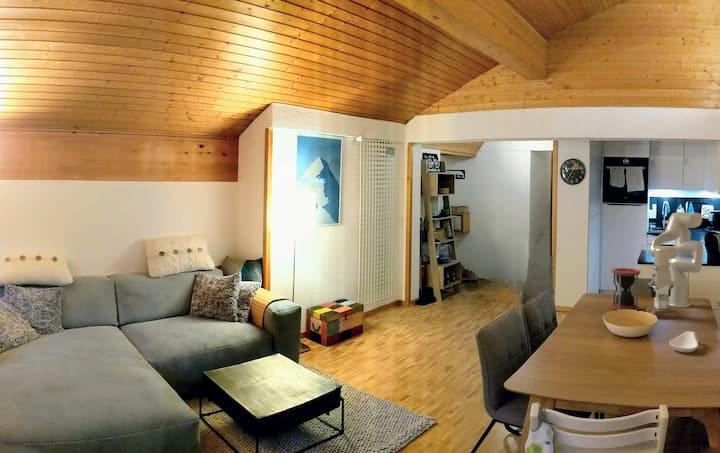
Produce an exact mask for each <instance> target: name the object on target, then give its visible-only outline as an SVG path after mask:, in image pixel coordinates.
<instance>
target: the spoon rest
mask: <svg viewBox="0 0 720 453" xmlns="http://www.w3.org/2000/svg"><path fill="white" fill-rule="evenodd" d="M699 339H700V338H699V336H698V333H697V332H696V331H690V330H687V331H685V332H683V333H682V334H681V333H680V335H678V336H676V337H674V338H672V339H671V340H670V341H669V345H670V347H671V348H672V349H673V350H675V351H677V352H679V353H686V354H687V353H692V352H694V351H696V350H697V349H698V347H699V344H700V340H699Z"/></svg>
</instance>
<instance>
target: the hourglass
mask: <svg viewBox="0 0 720 453" xmlns="http://www.w3.org/2000/svg"><path fill="white" fill-rule="evenodd" d="M611 273H612V274H613V285H614V286H615V290H614V291H613V293H612V295H613V296H612V303H611V305H610V309H612V310H613V309H615V310H614V311H617V310H618V309H631V310H639V311H640V306H639V304H638V303H639V301H638V300H639V297H638V295H637V293H636V290H637V288H638V287H639V275H640V274H641V270H640V269H635V268H626V267H625V268H623V267H619V268H618V267H616V268H612V269H611ZM634 283H635V286H634V287H633V290H632V286H633V285H634ZM618 290H619V293H617V292H618ZM616 293H617V295H616ZM634 296H635V297H634Z"/></svg>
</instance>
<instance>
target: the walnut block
mask: <svg viewBox="0 0 720 453" xmlns="http://www.w3.org/2000/svg"><path fill="white" fill-rule="evenodd" d="M644 311H646V312H649V313H652V314H654V315H656V316H657V318H658V319H657V320H663V319H664V320H669V319H670V320H671V319H672V320H674V319H677V310H675V309H672V308H671V307H669V306H668V309H657V308H654V305H653V306H652V305H651V306H650V305H648V306H647V305H646V306H645V308H644Z"/></svg>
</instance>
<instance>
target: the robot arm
mask: <svg viewBox="0 0 720 453" xmlns="http://www.w3.org/2000/svg"><path fill="white" fill-rule="evenodd" d="M702 222H703V215H701V213H699V212H683V211H681V212H673V213H672V214H670V216H669V218H668V221H667V224H666V227H665V229H664V232H662V233H661V234H659V235H657V236H656V237H655V238H654V239H653V241H652V244H651V246H650V250H649V255H650V256H651V257H652V258H654V261H653V262H654V263H653V264H654V266H653V267H652V269H653V271H652V275H651V276H652V277H651V281H649V282H647V287H648V289H649V290H650V297H651V298H653V299H654V298H656V291H655V290H656V289H657V288H664V286H669V290H668V306H670V307H674V308H675V307H676V308H689V307H690V306H691V304H690V303H689V302H688V296H689V295H688V291H689V289H688V287H689V278H688V276H687V275H686V273H688V274H689V273H691V274H699V273H700V272H701V270H702V265H703V256H704V245H703V242H701V241H699V240H691V235H692V232H691V230H690V229H693V228H698V227H699V226H701V224H702ZM673 241H674V242H673ZM669 242H673V243H674V244H673V246H669V245H662V244H665V243H669ZM678 255H680V256H678ZM682 255H683V256H682ZM688 256H692V257H688Z"/></svg>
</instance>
